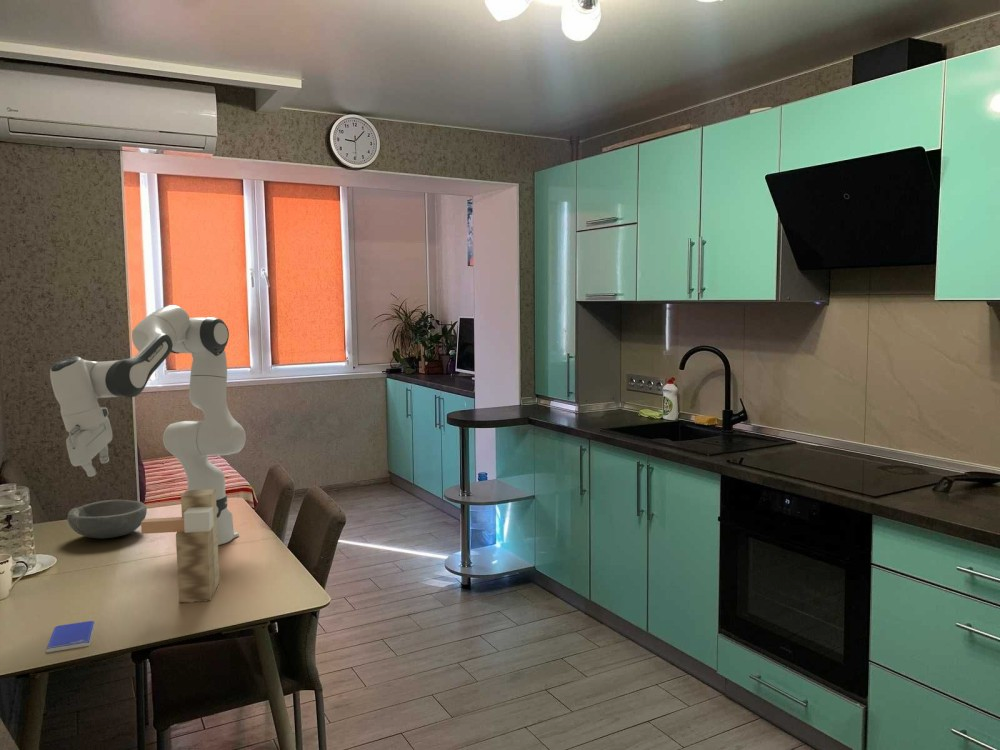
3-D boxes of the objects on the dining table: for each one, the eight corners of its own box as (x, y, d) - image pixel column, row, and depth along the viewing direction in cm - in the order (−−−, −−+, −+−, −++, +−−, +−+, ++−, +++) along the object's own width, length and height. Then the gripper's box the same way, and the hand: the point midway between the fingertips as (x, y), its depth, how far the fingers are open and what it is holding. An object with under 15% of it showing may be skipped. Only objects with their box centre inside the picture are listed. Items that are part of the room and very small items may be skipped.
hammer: (213, 525, 195) (213, 506, 195) (209, 531, 190) (208, 512, 189) (146, 529, 192) (145, 510, 192) (140, 535, 187) (139, 515, 186)
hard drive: (89, 640, 166) (94, 620, 177) (46, 647, 162) (54, 626, 174) (89, 647, 166) (94, 626, 177) (46, 654, 162) (54, 632, 174)
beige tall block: (178, 603, 189) (174, 502, 187) (190, 584, 202) (186, 490, 200) (210, 600, 191) (206, 501, 188) (219, 582, 203) (215, 489, 201)
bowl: (115, 549, 233) (113, 518, 232) (53, 545, 237) (51, 514, 236) (162, 528, 255) (161, 499, 254) (105, 524, 259) (103, 496, 259)
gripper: (80, 430, 183) (97, 481, 187) (109, 406, 203) (124, 453, 207) (54, 435, 183) (71, 486, 186) (85, 410, 202) (100, 457, 206)
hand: (99, 468), depth 197 cm, fingers open, 8 cm apart
